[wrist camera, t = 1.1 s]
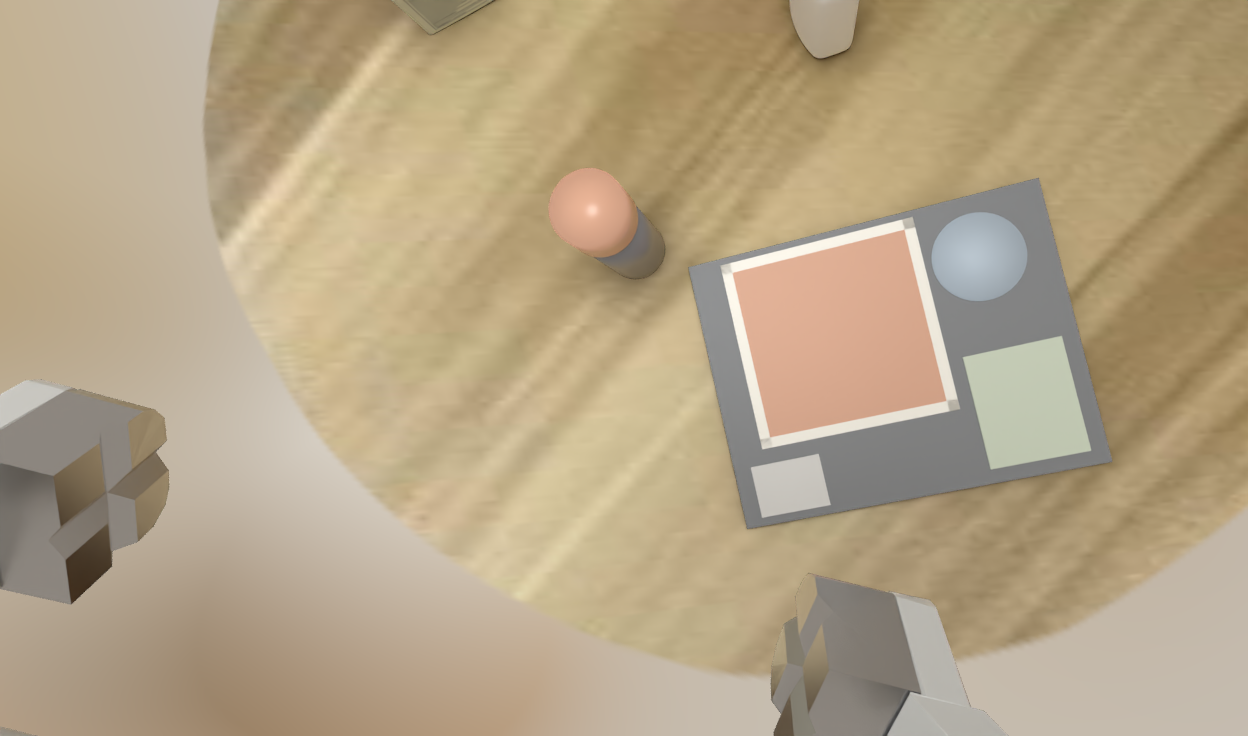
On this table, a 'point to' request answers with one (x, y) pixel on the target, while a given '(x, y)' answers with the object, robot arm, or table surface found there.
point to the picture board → (899, 358)
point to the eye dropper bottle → (824, 24)
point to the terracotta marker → (605, 223)
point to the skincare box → (438, 11)
